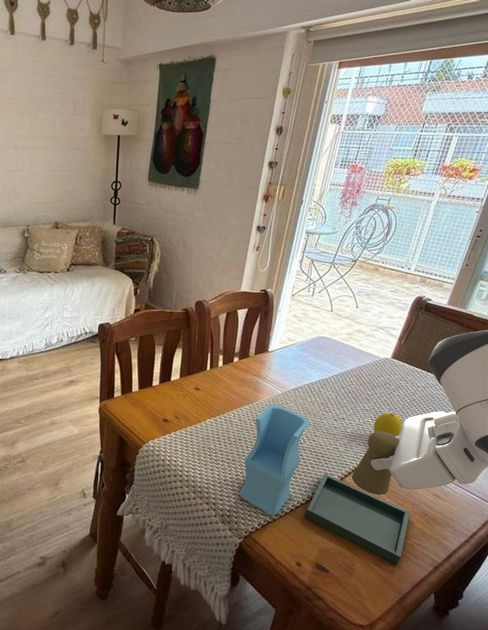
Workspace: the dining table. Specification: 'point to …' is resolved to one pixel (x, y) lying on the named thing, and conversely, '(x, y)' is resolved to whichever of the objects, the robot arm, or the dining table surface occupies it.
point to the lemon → (388, 424)
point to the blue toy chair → (273, 458)
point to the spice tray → (360, 517)
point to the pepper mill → (364, 472)
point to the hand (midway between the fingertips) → (375, 457)
